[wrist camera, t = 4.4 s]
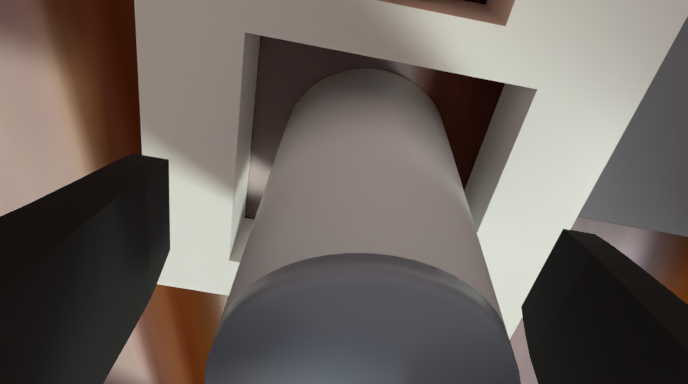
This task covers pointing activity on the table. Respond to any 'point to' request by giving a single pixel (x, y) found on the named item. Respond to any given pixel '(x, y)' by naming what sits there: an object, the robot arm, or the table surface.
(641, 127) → the pad
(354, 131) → the cylinder
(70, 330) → the robot arm
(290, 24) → the white plate with holes
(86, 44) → the table surface
